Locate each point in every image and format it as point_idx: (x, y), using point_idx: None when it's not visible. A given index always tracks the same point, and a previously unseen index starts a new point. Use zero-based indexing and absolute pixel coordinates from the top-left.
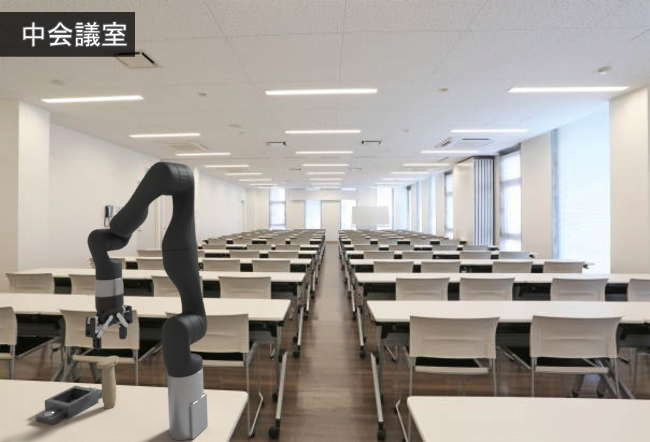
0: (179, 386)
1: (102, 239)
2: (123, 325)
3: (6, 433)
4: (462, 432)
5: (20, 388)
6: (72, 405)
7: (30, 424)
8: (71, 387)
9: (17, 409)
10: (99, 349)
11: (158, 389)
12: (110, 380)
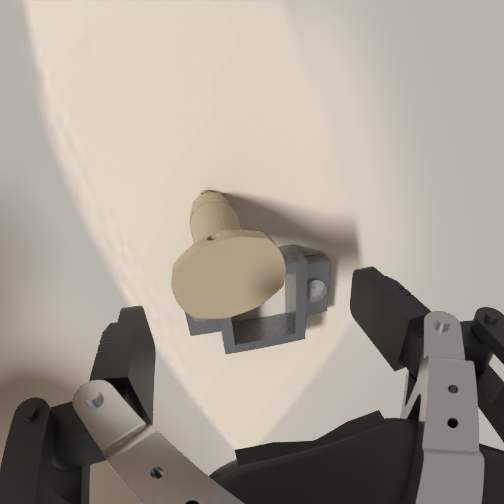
0: None
1: None
2: (129, 408)
3: None
4: None
5: (250, 431)
6: (294, 260)
7: (332, 299)
8: (236, 351)
9: (301, 372)
10: (365, 268)
11: (74, 160)
12: (225, 216)
